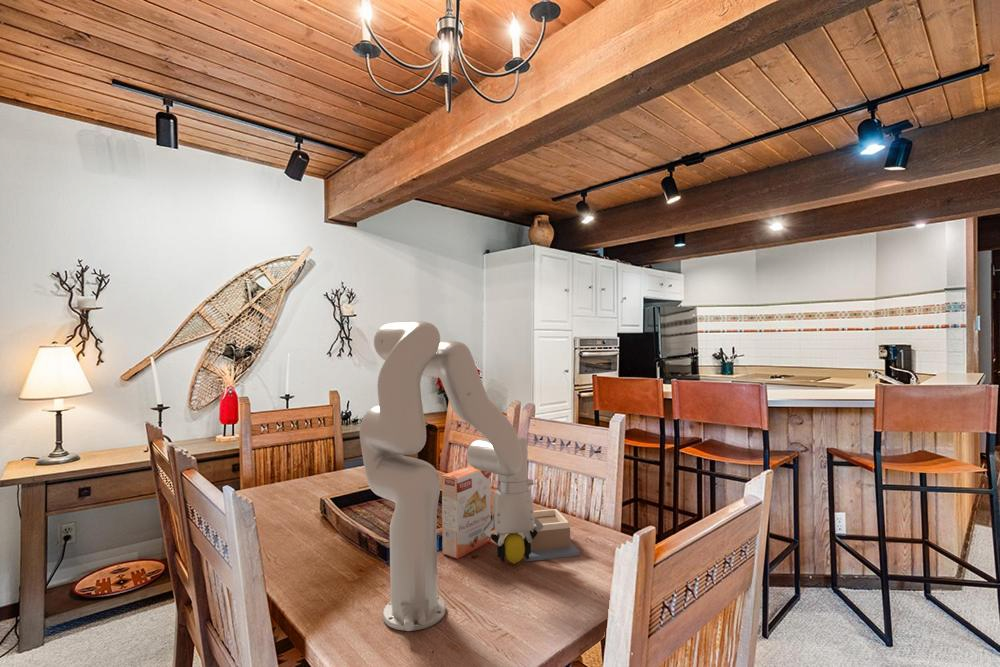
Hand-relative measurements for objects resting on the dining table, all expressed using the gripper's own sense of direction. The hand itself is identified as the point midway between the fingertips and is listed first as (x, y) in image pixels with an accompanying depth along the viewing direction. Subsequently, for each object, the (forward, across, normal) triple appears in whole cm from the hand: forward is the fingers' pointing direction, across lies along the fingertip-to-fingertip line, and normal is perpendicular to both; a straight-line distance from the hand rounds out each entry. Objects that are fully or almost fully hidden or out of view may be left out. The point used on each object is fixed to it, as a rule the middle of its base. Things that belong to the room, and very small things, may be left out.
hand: (514, 557), depth 123 cm
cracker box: (+2, +10, -12) cm, 16 cm away
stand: (+1, -10, -9) cm, 14 cm away
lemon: (+2, 0, 0) cm, 2 cm away
